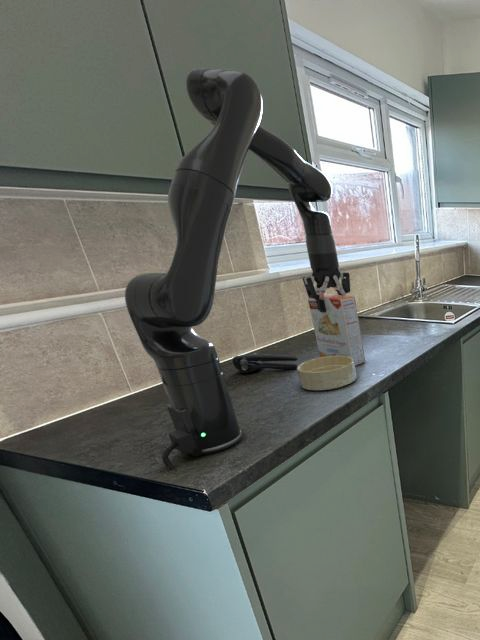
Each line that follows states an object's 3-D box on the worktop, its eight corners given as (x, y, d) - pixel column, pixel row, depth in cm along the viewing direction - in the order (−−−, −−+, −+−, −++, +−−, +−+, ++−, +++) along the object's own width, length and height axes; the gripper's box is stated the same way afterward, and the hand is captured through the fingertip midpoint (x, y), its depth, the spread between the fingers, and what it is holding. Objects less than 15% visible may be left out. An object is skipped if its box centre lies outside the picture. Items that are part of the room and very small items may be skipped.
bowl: (322, 396, 105) (318, 375, 103) (290, 386, 112) (286, 367, 110) (367, 378, 116) (364, 360, 114) (336, 370, 123) (332, 352, 121)
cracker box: (319, 362, 131) (305, 295, 123) (335, 357, 136) (322, 292, 128) (351, 368, 125) (338, 298, 117) (366, 362, 130) (355, 295, 122)
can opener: (231, 376, 121) (225, 358, 119) (241, 368, 127) (236, 351, 125) (295, 372, 123) (291, 354, 121) (302, 364, 129) (298, 347, 127)
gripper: (306, 253, 111) (319, 316, 117) (351, 250, 122) (361, 307, 128) (290, 253, 114) (303, 313, 121) (336, 249, 126) (345, 305, 132)
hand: (333, 309), depth 124 cm, fingers closed on cracker box, 6 cm apart
